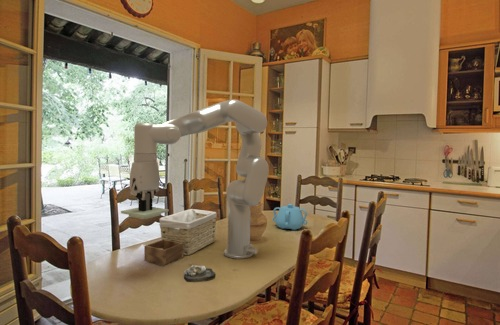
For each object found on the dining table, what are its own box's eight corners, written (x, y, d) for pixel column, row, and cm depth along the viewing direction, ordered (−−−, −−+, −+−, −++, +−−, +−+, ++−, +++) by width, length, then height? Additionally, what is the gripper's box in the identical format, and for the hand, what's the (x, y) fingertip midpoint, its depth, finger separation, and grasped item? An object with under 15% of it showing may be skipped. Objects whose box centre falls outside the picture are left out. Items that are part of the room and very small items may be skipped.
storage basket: (188, 257, 131) (188, 222, 131) (157, 251, 138) (157, 217, 137) (217, 242, 153) (218, 211, 152) (189, 237, 160) (190, 208, 159)
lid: (168, 214, 116) (168, 192, 116) (144, 221, 106) (144, 197, 106) (146, 211, 122) (146, 190, 121) (120, 216, 112) (120, 193, 111)
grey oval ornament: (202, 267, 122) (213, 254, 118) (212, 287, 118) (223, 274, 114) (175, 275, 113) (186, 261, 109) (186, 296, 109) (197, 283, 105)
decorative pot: (282, 232, 172) (283, 207, 171) (270, 225, 187) (271, 202, 186) (309, 230, 178) (310, 206, 177) (295, 223, 193) (295, 201, 192)
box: (183, 257, 131) (183, 243, 130) (164, 266, 122) (164, 250, 121) (163, 253, 136) (163, 239, 136) (144, 260, 127) (144, 245, 126)
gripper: (154, 157, 121) (154, 205, 123) (119, 158, 108) (119, 212, 109) (169, 158, 118) (169, 207, 119) (135, 159, 104) (134, 215, 105)
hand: (145, 209), depth 114 cm, fingers closed on lid
